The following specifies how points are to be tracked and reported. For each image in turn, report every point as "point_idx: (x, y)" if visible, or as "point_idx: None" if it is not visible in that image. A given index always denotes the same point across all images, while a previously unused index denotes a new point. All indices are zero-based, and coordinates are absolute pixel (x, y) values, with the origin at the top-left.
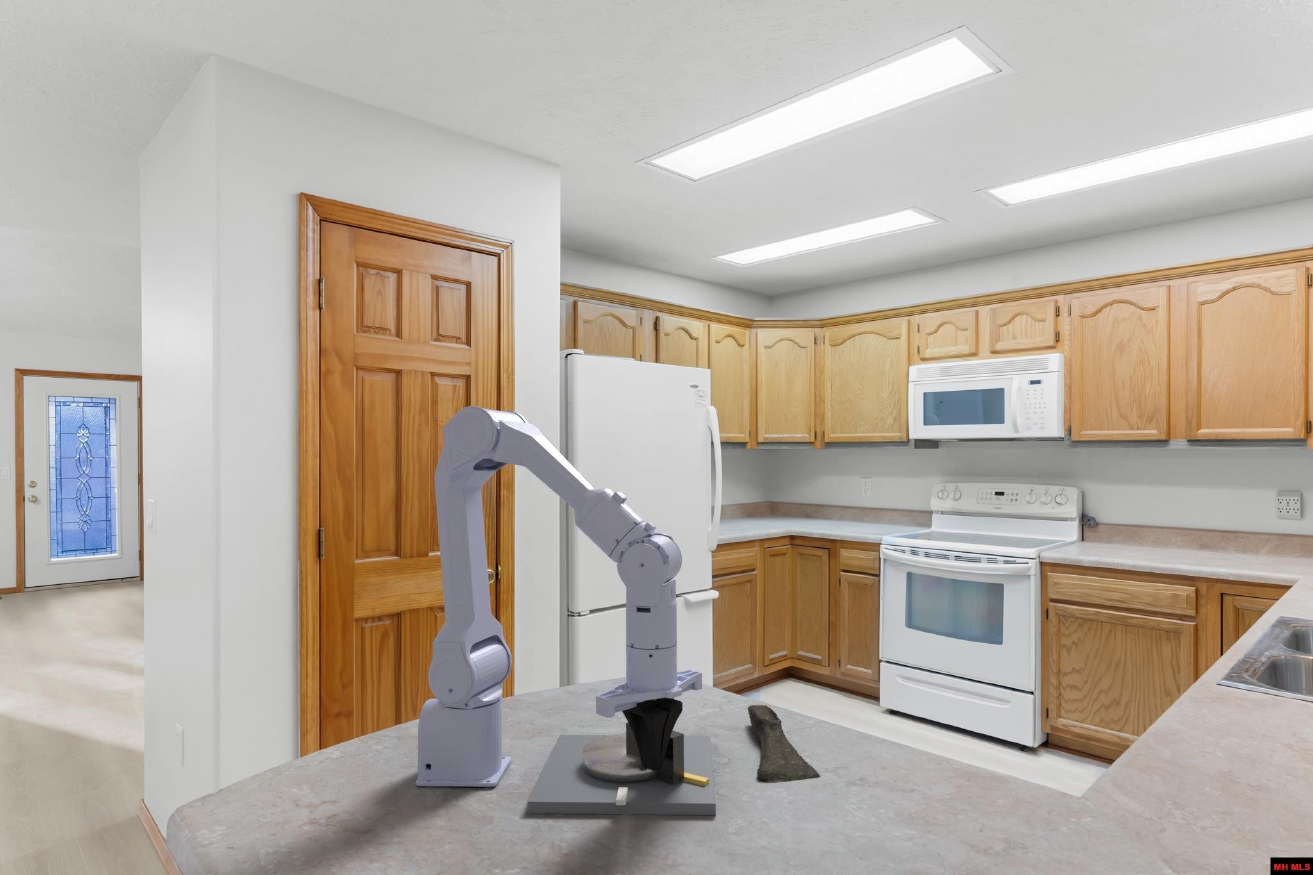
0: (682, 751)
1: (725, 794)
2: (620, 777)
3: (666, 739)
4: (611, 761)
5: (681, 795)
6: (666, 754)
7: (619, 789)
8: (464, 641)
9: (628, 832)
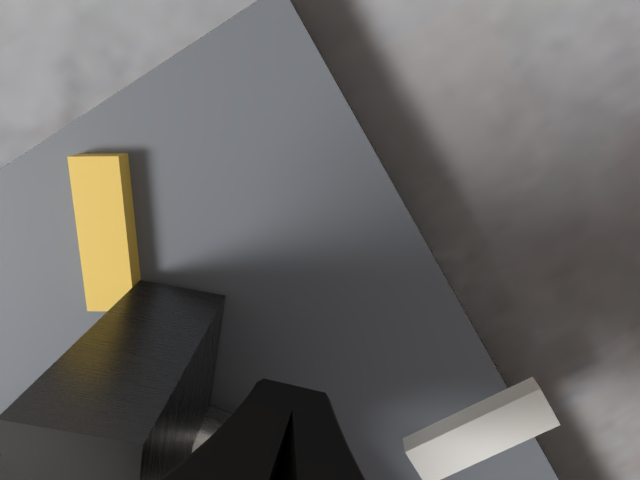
0: (86, 350)
1: (55, 72)
2: None
3: (228, 469)
4: None
5: (295, 203)
6: (180, 420)
7: (448, 470)
8: None
9: (637, 265)
